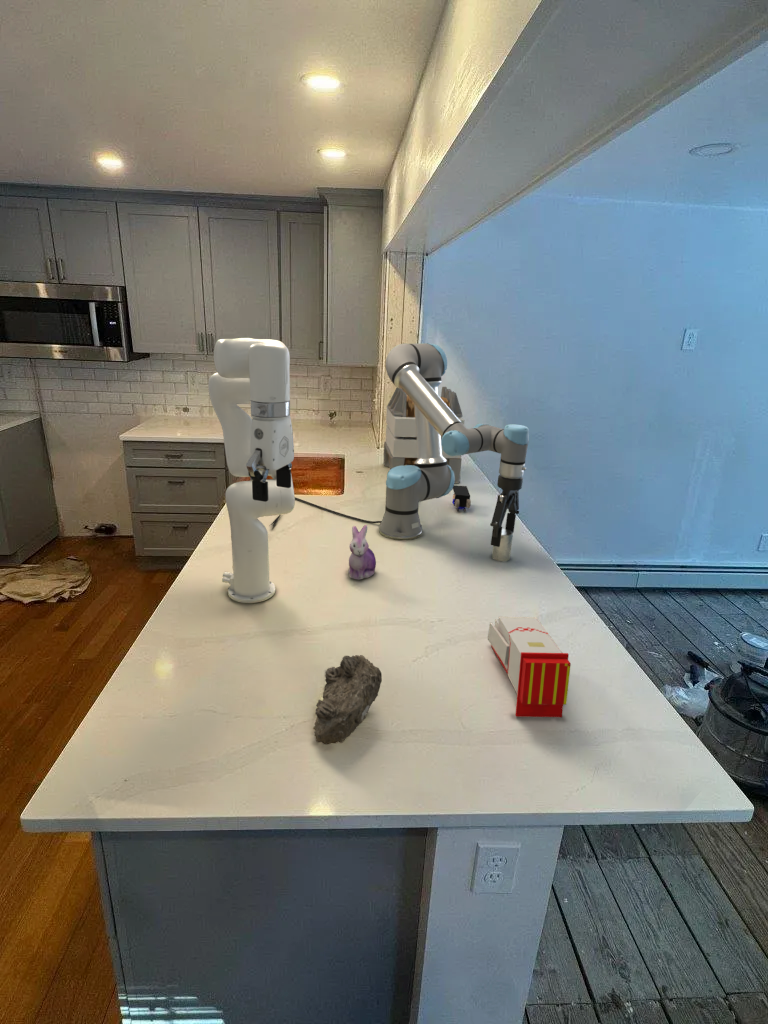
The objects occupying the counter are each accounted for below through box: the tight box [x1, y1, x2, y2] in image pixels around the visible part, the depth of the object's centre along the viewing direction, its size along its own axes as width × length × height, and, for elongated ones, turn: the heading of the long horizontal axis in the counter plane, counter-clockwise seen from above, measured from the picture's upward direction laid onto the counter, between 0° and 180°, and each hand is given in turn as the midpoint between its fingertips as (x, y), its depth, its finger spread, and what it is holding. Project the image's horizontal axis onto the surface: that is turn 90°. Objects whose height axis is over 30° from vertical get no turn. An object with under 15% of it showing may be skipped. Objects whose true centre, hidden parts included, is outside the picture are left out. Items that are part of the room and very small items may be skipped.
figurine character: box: [451, 484, 472, 513], centre depth 228 cm, size 7×8×15 cm
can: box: [491, 528, 514, 562], centre depth 183 cm, size 6×6×9 cm
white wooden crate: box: [383, 386, 465, 484], centre depth 268 cm, size 34×33×41 cm
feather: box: [270, 515, 281, 529], centre depth 210 cm, size 2×28×2 cm
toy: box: [487, 616, 572, 718], centre depth 123 cm, size 12×13×30 cm
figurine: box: [347, 524, 377, 580], centre depth 166 cm, size 9×10×15 cm
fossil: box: [312, 654, 383, 746], centre depth 110 cm, size 22×10×15 cm
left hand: (272, 493), depth 116 cm, fingers open, 9 cm apart
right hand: (502, 538), depth 182 cm, fingers open, 13 cm apart
